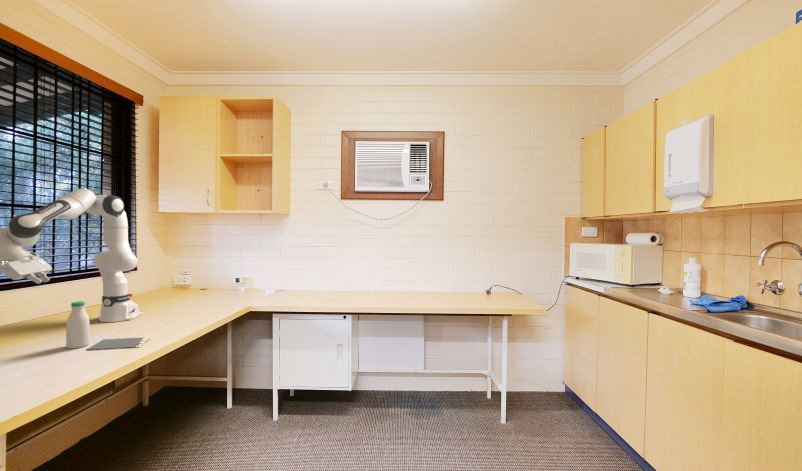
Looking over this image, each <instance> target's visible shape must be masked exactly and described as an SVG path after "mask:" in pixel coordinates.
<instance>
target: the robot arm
mask: <svg viewBox="0 0 802 471" xmlns="http://www.w3.org/2000/svg"><path fill="white" fill-rule="evenodd" d="M83 213H84V214H86V215H90V216H91V215H92V216H102V218H103V226H102V227H103V228H102V230H103V231H102V232H103V234H102V235H103V236H102V241H103V243H104V244H105V245H106V247H107V249H108V250H106V251H102V252H99V253H97V254H96V255H95V257H94V259H93V263H94V265H95V267H97V269H98V270H99V273H100V276H101V281H102V297H101V303H102V304H101V305H100V314H99V316H98V318H97V319H98V321H99V322H100V323H115V322H122V321H123V322H125V321H132V320H134V319H136V318H138V317H140V316H142V315H144V314H145V312H144V311H140V306H139V304H138V303H136V302H135V301H133V300H131V298H133V297H134V293H129V290H128V289H129V288H128V287H129V283H128V282H129V281H128V278H126V277H125V275H124V273H123V272H128V271H131V270H135V268H136V267H137V266H138V258H137V256H136V255H135V254H134V253H133V251H132V248H131V246H130V242H129V223H128V217H127V212H126V211H125V203H124V201H123V199H122V198H121V197H120V196H117V195H113V194H110V195H108V194H97V195H96V194H95V193H94V191H92V190H90V189H88V188H84V187H82V188H78V189H74V190H72V191H70V192H67V193H65V194H64V195H63V196H60V197H59V198H57V199H56V200H53V201H51V202H50V203H47V204H45V205H44V206H42V207H40V208H37V209H36V210H34V211H31V212H27V213H22V214H19V215H16V216H14V217H12V218H11V219H10V220H9V222H8V227H6V228H0V269H1V271H2V272H3V273H4V274H5V275H6V276H7V277H9V279H11V280H13V281H18V280H22V279H27V280H29V281H31V282H34V283H35V284H37V285H38V284H39V285H40V284H42V283H47V282H49V281H50V278H49V277H48V276H47V274H48V273H50V272H51V271H52V270H53V268H52V266H51V265H50V264H49V263H48V262H47V261H46V260H44V258H42V257H40V254H38V253H37V252H34V251H28V250H26V249H29V248H32V247H33V246H35V245H36V243H38V240H39V237H40V234H41V232H42V230H43V228H44V226H45V224H47V223H49V222H50V221H52V220H54V219H56V218H57V217H59V218H60V219H63V220H73V219H75V218H77V217H79V216H80V215H82V214H83Z"/></svg>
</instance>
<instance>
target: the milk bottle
mask: <svg viewBox="0 0 802 471" xmlns="http://www.w3.org/2000/svg"><path fill="white" fill-rule="evenodd" d="M70 306H71V308H70V309H71V311H70V313H69V315H68V317H67V319H66V328H65V330H66V331H65V332H66V334H65V337H66V338H65V340H66V344H65V346H66V348H67V349H80V348H81V349H82V348H85V347H87V346H88V345H89V344H90V317H89V315H88V314H87V311H86V309H85V307H86V302H85V301H82V300H80V301H74V302H71V304H70Z"/></svg>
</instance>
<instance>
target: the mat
mask: <svg viewBox="0 0 802 471" xmlns="http://www.w3.org/2000/svg"><path fill="white" fill-rule="evenodd" d="M144 337H145V336H144ZM144 337H126V338H108V339H107V338H106V339H102V340H100V341H99V342H97V343H95V344H93V345H92V346H89V347H88V348H86V349H85V350H86V351H99V350H100V349H104V350H114V349H115V348H121V349H127V348H126V347H136V346H138V345H139V344H141V343H139V342H141V340H142V339H143V338H144ZM142 341H143V340H142ZM115 350H116V349H115ZM100 351H101V350H100Z"/></svg>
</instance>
